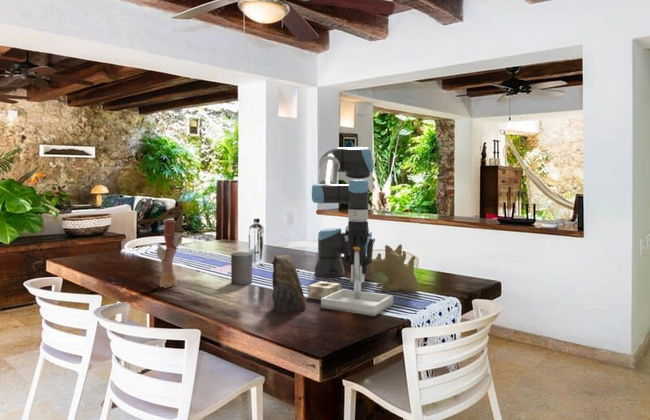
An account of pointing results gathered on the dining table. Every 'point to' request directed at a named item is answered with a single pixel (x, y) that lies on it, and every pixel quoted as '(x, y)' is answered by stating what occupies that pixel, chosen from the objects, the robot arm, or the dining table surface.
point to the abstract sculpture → (168, 254)
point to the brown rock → (286, 285)
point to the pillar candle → (241, 268)
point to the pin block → (322, 289)
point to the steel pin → (357, 273)
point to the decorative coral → (395, 270)
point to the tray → (357, 302)
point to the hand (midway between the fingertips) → (357, 281)
